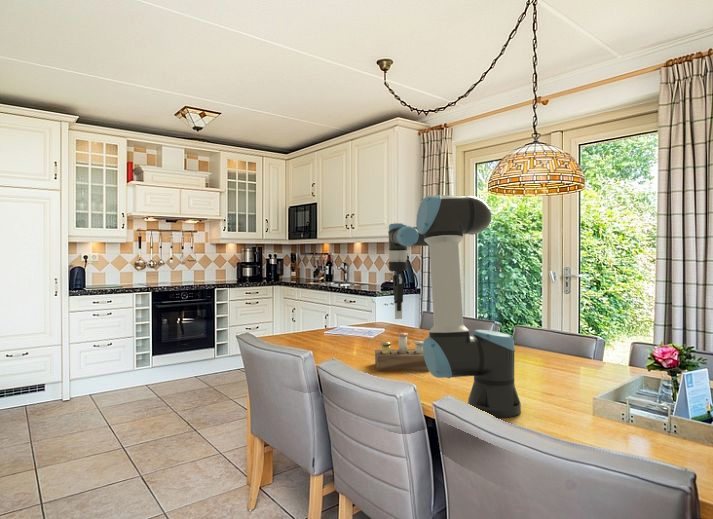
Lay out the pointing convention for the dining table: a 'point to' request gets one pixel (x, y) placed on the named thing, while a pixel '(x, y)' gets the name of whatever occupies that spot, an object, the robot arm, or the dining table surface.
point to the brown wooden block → (400, 361)
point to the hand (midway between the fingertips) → (398, 318)
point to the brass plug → (385, 347)
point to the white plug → (402, 343)
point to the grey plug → (419, 346)
